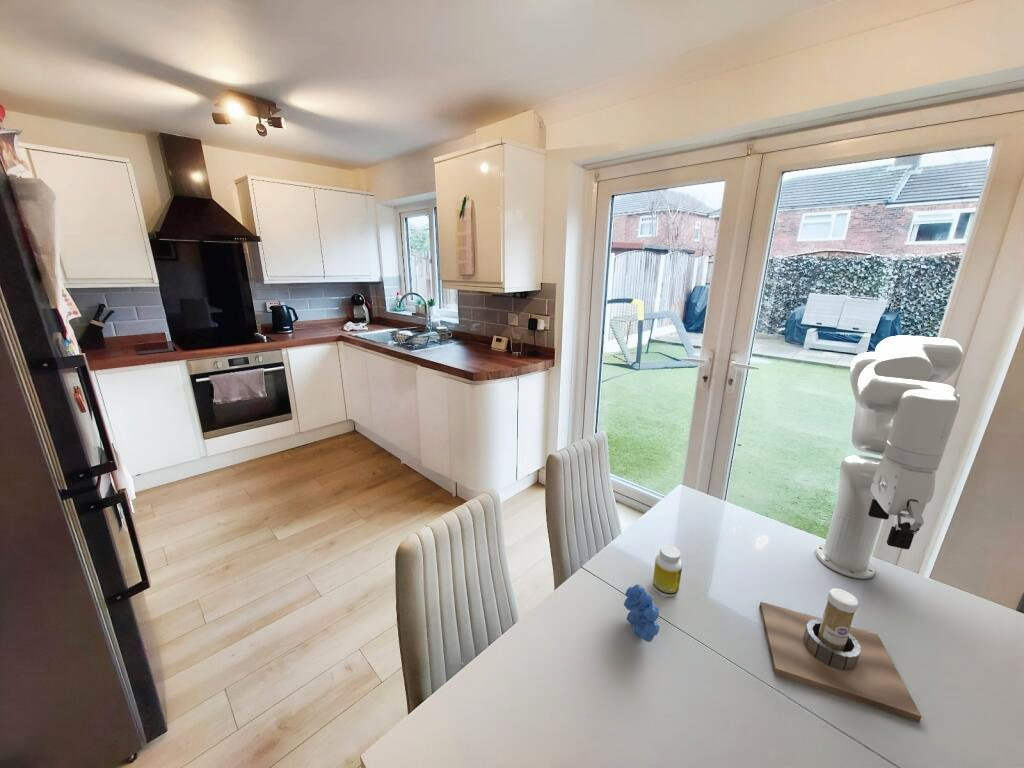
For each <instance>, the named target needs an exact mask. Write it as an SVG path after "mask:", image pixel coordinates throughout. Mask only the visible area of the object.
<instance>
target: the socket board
mask: <svg viewBox="0 0 1024 768" xmlns="http://www.w3.org/2000/svg"><path fill="white" fill-rule="evenodd" d="M758 607H759V612H760V616H761V620H762V624H763V628H764V634H765V637H766V638H765V639H766V643H767V647H768V648H767V649H768V652H769V656H770V657H769V658H770V662H771V666H772V670H773V675H776V676H779V677H782V678H785V679H789V680H791V681H793V682H797V683H800V684H803V685H805V686H810V687H812V688H814V689H818V690H821V691H823V692H826V693H829V694H833V695H836V696H839V697H842V698H845V699H848V700H851V701H854V702H856V703H860V704H863V705H865V706H869V707H872V708H873V709H877V710H880V711H884V712H886V713H890V714H892V715H895V716H898V717H902V718H905V719H907V720H911V721H914V722H917V723H920V722H921V719H922V714H921V713H920V711H919V709H918V707H917V705H916V703H915V701H914V699H913V697H912V696H911V694H910V692H909V690H908V688H907V686H906V684H905V683H904V681H903V678H902V677H901V674H900V673H899V670H897V669H898V668H897V667H896V666H895V664H894V662H893V660H892V658H891V656H890V654H889V652H888V651H887V648H886V647H885V645H884V644H883V642H882V639H881V637H880V636H879V634H878V633H874V632H871V631H867V630H863V629H860V628H857V627H852V626H851V627H850V632H849V633H850V634H851V635H852V636H853V637H854V638H855V639H856V640H857V641H858V643H859V645H860V647H861V652H860V656H859V659H858V662H857V664H856V666H855V668H854V669H853V670H848V671H842V670H838V669H835V668H832V667H830V666H827V665H826V664H824V663H823V662H821V661H819V660H818V659H816V657H814V656H813V655H812V654H811V653H810V652H809V651H808V649H807V648H806V647H805V644H804V641H803V636H804V632H805V629H806V625H807V624H808V622H809V621H810V620H815V619H822V617H817V616H813V615H810V614H808V613H807V614H806V613H802V612H800V611H795V610H791V609H788V608H784V607H781V606H777V605H774V604H770V603H766V602H763V601H760V602H759V606H758ZM816 637H817V638H818V636H816ZM843 652H846V651H845V650H843Z"/></svg>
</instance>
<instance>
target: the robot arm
mask: <svg viewBox="0 0 1024 768" xmlns="http://www.w3.org/2000/svg"><path fill="white" fill-rule="evenodd" d="M963 357H964V356H963V349H962V346H961V345H960V343H958V342H957V341H956V340H953V339H951V338H944V337H932V336H931V337H930V336H918V335H917V336H916V335H895V336H889V337H886V338H884V339H883V340H881V341H880V342H879V343H878V344H877V345H876V347H875V350H874V352H873V351H871V352H869V351H868V352H863V353H859V354H857V355H856V356H855V357H854V358H853V360H852V361H851V365H850V368H849V369H850V370H849V371H850V372H849V381H850V386H851V389H852V392H853V393H852V394H853V395H854V401H855V409H854V416H853V423H852V431H851V432H852V433H851V442H852V446H853V447H854V449H856V450H857V451H860V452H863V453H866V454H872V455H876V456H880V457H881V458H879V457H873V456H869V455H861V454H857V455H856V454H855V455H854V454H853V455H849V456H846V457H844V458H843V460H842V461H841V464H840V468H839V481H838V482H839V484H838V490H837V496H836V499H835V500H836V501H835V504H834V507H833V513H832V517H831V520H830V524H829V526H828V527H829V528H828V532H827V536H826V540H825V544H820V545H818V546H817V547H816V549H815V555H816V557H817V559H818V560H819V561H820V562H821V563H822V564H823V565H825V566H826V567H827V568H829V569H830V570H833V571H834V572H837V573H839V574H841V575H843V576H846V577H850V578H853V579H860V580H861V579H862V580H863V579H864V580H867V579H871V578H872V577H874V575H875V573H876V568H875V567H874V565H873V563H872V562H871V561H870V560H871V557H872V553H873V550H874V547H875V544H876V540H877V536H878V534H879V530H880V528H881V524H882V521H883V520H888V519H889V518H890V516H891V515H892V516H893V519H894V526H893V525H892V526H891V528H890V531H889V533H888V536H887V540H886V544H887V546H889V547H894V548H898V549H903V550H910V548H911V545H912V543H913V540H914V537H915V535H917V533H918V532H919V531H920V529H921V527H923V525H924V523H925V521H924V517H923V514H924V511H925V508H926V506H927V504H929V503H930V502H931V501H932V499H933V496H934V495H935V494H934V493H935V487H936V473H937V471H938V470H939V467H940V465H941V462H942V458H943V455H944V452H945V450H946V447H947V444H948V441H949V438H950V436H951V433H952V429H953V427H954V424H955V421H956V418H957V415H958V413H959V409H960V404H961V396H960V394H959V393H958V392H957V389H955V388H954V387H953V386H951V385H950V384H945V383H943V382H945V381H946V380H947V379H949V378H950V377H951V376H953V374H955V372H956V371H958V369H959V367H960V366H961V364H962V361H963ZM902 512H905V513H902ZM907 513H908V514H907ZM902 519H908V522H907V521H905V522H902Z"/></svg>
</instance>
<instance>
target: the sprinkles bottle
mask: <svg viewBox="0 0 1024 768" xmlns="http://www.w3.org/2000/svg"><path fill="white" fill-rule="evenodd" d="M858 606H859V600H858V599H857V597H855V595H854V594H851V593H850V592H848V591H846V590H843V589H841V588H834V587H833V588H831V589H830V590H829V591H828V593H827V603H826V606H825V609H824V610H823V614H822V617H821V619H822V621H821V625H820V629H819V634H818V639H819V640H820V641H821V642H822V643H824V644H826V645H827V646H829V647H831V648H832V649H835V650H838V651H841V652H843V650H844V646H845V644H846V642H847V638H848V635H849V632H850V627H852V623H853V619H854V616H855V613H856V612H857V610H858V608H859V607H858Z"/></svg>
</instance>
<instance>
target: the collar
mask: <svg viewBox="0 0 1024 768" xmlns="http://www.w3.org/2000/svg"><path fill="white" fill-rule="evenodd" d="M821 621H822V618H821V619H815V620H810V621H809V622H808V624H807V625H806V629H805V632H804V636H803V641H804V644H805V647H806V648H807V649H808V651H809V652H810V653H811V654H812V655H813V656H814V657H816V659H818V660H819V661H821V662H823V663H824V664H826V665H827V666H830V667H832V668H835V669H838V670H842V671H848V670H853V669H854V668H855V666H856V664H857V662H858V659H859V656H860V652H861V647H860V645H859V643H858V641H857V640H856V639H855V638H854V637H853V636H852V635H851V634H850V633H849V635H848V638H847V642H846V644H845V646H844V650H845V651H846V652H841V651H838V650H835V649H832V648H831V647H829V646H827V645H826V644H824V643H822V642H821V641H820V640H819V639H818V638H817V637H816V636H818V634H819V629H820V625H821Z"/></svg>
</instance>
